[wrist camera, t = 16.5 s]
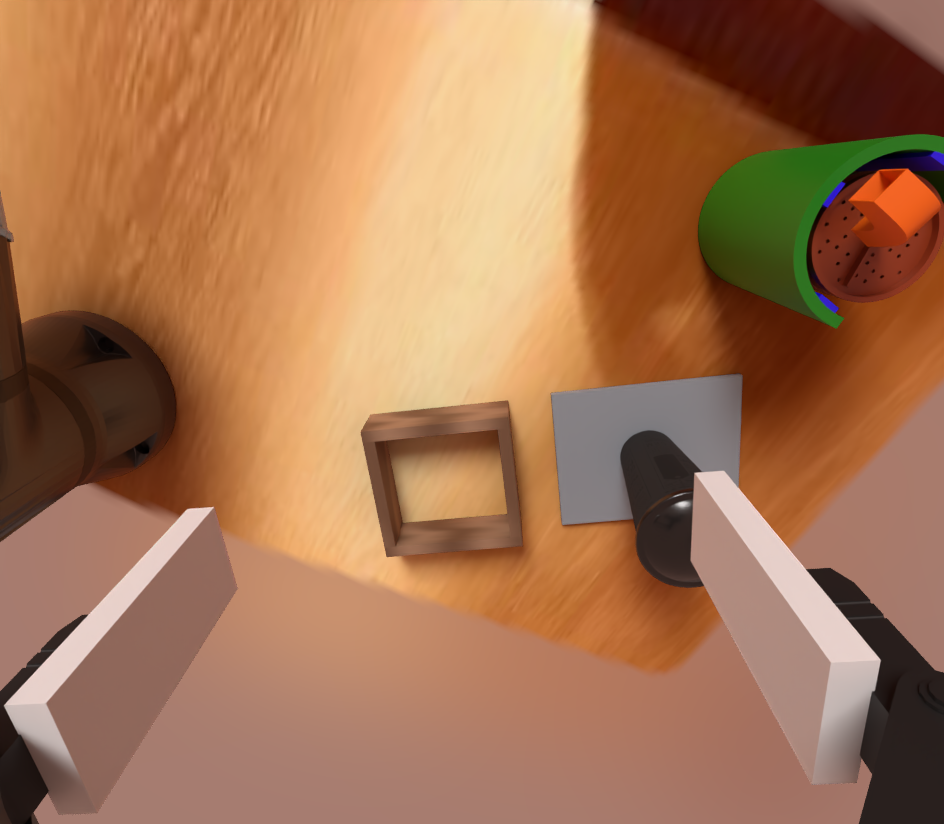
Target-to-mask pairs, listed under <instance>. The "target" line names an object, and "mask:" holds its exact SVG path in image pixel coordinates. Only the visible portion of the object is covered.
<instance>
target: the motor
mask: <svg viewBox="0 0 944 824" xmlns="http://www.w3.org/2000/svg"><path fill="white" fill-rule="evenodd" d="M943 203H944V138H943V137H939V136H934V135H906V136H897V137H888V138H880V139H871V140H862V141H853V142H845V143H836V144H827V145H819V146H810V147H801V148H792V149H784V150H775V151H767V152H762V153H758V154H755V155H752V156H750V157H748V158H745V159H743V160H742V161H740V162H738V163H737V164H735V165H734V166H732V167H731V168H730V169H729V170H727V171H726V172H725V173H724V174H723V175H722V176H721V177H720V178H719V180H718V181H717V182H716V183H715V185H714V186H713V187H712V189H711V190H710V192H709V194H708V196H707V198H706V200H705V202H704V204H703V207H702V210H701V214H700V218H699V225H698V238H699V245H700V249H701V252H702V255H703V257H704V259H705V261H706V263H707V264H708V266H709V267H710V268H711V270H712V271H713V272H714V273H715V274H716V275H717V276H719V277H720V278H721V279H723V280H724V281H726V282H728V283H730V284H732V285H735V286H737V287H740V288H742V289H744V290H747V291H749V292H751V293H754V294H756V295H758V296H761V297H763V298H766V299H768V300H770V301H773V302H775V303H777V304H780V305H782V306H784V307H787V308H789V309H792V310H794V311H796V312H799V313H801V314H803V315H806V316H808V317H810V318H813V319H815V320H818V321H820V322H822V323H825V324H827V325H829V326H832V327H834V328H836V329H837V327H838V326H839V325H840V323H841V322H842V321H843V319H844V318H843V317H841V316H839V315H837V314H835V313H836V311H837V310H838V309H839V308H838V307H837V306H835V305H834V304H833V303H832V302H831V301H829V300H828V299H827V298H826V297H825V296H823V295H822V294H820V293H817V292H814V290H817V291H820V292H823V293H826V294H829V295H833V296H835V297H838V298H841V299H844V300H847V301H852V302H861V303H865V302H875V301H879V300H883V299H886V298H889V297H891V296H894V295H896V294H898V293H900V292H901V291H903V290H905V289H906V288H908V287H909V286H910V285H912V284H913V283H914V282H915V281H917V280H918V279H919V278H920V277H921V276H922V275H923V274H924V272H925V271H926V270H927V269H928V268H929V266H930V265H931V263H932V262H933V260H934V259H935V257H936V255H937V253H938V251H939V249H940V247H941V244H942V241H943V237H944V205H943ZM813 289H814V290H813Z"/></svg>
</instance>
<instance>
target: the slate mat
mask: <svg viewBox="0 0 944 824" xmlns="http://www.w3.org/2000/svg"><path fill="white" fill-rule="evenodd" d="M742 378H743V376H742V375H741V374H730V375H720V376H710V377H701V378H691V379H681V380H672V381H662V382H652V383H643V384H633V385H623V386H613V387H604V388H594V389H584V390H575V391H565V392H555V393H551V400H552V412H553V424H554V436H555V448H556V460H557V472H558V484H559V496H560V508H561V520H562V525H568V524H580V523H592V522H604V521H616V520H628V519H633V515H632V511H631V506H630V502H629V497H628V493H627V488H626V483H625V479H624V474H623V470H622V465H621V460H620V454H621V450H622V447H623V445H624V444H625V442H626V441H627V440H628V439H629V438H630V437H631V436H633V435H634V434H636V433H639V432H642V431H647V430H653V431H658V432H661V433H663V434H665V435H666V436H668V437H669V438H670V439H671V440H672V441H673V442H674V443H675V444H676V445H677V446H678V447H679V448H680V449H681V450H682V451H683V453H684V454H685V455H686V456H687V457H688V458H689V459H690V460H691V461H692V462H693V463H694V464H695V465H696V466H697V467H698V468H699V469H700V470H701V471H702V472H713V471H725V472H726V474H727V475H728V476H729V477H730V479H731V480H732V481H733V482H734V483H735V485H736V486H737V487H738V486H739V459H740V432H741V405H742Z"/></svg>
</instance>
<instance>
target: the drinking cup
mask: <svg viewBox="0 0 944 824" xmlns="http://www.w3.org/2000/svg"><path fill="white" fill-rule="evenodd" d="M620 460H621V465H622V470H623V474H624V479H625V483H626V488H627V493H628V497H629V502H630V506H631V511H632V515H633V520H634V525H635V529H636V536H635V546H636V551H637V555H638V557H639V560H640V562H641V563H642V565H643V567H644V568H645V569H646V570H647V571H648V572H649V573H650V574H651V575H652V576H653V577H655V578H656V579H658V580H660V581H662V582H664V583H666V584H669V585H673V586H677V587H686V588H691V587H701V586H704V584H703V582H702V581H701V579H700V577H699V575H698V573H697V571H696V569H695V568H694V566H693V564H692V562H691V539H692V517H693V495H694V473H699V472H702V471H701V470H700V469H699V468H698V467H697V466H696V465H695V464H694V463H693V462H692V461H691V460H690V459H689V458H688V457H687V456H686V455H685V454H684V453H683V451H682V450H681V449H680V448H679V447H678V446H677V445H676V444H675V443H674V442H673V441H672V440H671V439H670V438H669V437H668V436H666V435H665V434H663V433H661V432H658V431H653V430H647V431H642V432H639V433H636V434H634V435H633V436H631V437H630V438H629V439H628V440H627V441H626V442H625V444H624V445H623V447H622V450H621V454H620Z"/></svg>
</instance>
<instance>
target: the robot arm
mask: <svg viewBox="0 0 944 824" xmlns="http://www.w3.org/2000/svg"><path fill="white" fill-rule="evenodd" d="M10 242H14V239H13V235H12V233H11V232H10V231H9V230H8V228H7V223H6V218H5V213H4V208H3V202H2V197H1V192H0V542H1V541H2V540H4V539H5V538H6V537H8V536H9V535H11V534H12V533H13V532H14V531H16V530H17V529H19V528H20V527H21V526H23V525H24V524H25V523H27V522H28V521H29V520H31V519H32V518H34V517H35V516H37V515H38V514H39V513H40V512H42V511H43V510H45V509H46V508H47V507H49V506H50V505H51V504H53V503H54V502H56V501H57V500H58V499H60V498H61V497H63V496H64V495H65V494H66V493H68V492H69V491H71V490H72V489H74V488H75V487H77V486H80V485H84V484H88V483H93V482H97V481H101V480H105V479H109V478H113V477H117V476H121V475H124V474H126V473H129V472H131V471H133V470H135V469H137V468H138V467H140V466H141V465H143V464H144V463H145V462H147V461H148V460H149V459H150V458H152V457H153V456H154V455H156V454H157V453H158V452H159V451H160V450H161V449H162V448H163V446H164V445H165V444H166V442H167V441H168V439H169V437H170V435H171V432H172V430H173V427H174V422H175V415H176V403H175V396H174V391H173V387H172V384H171V381H170V379H169V376H168V374H167V372H166V370H165V368H164V366H163V365H162V363H161V361H160V360H159V359H158V357H157V356H156V354H155V353H154V352H153V351H152V350H151V348H150V347H149V346H148V345H147V344H146V343H145V342H144V341H143V340H142V339H141V338H139V337H138V336H137V335H136V334H135V333H133V332H132V331H131V330H129V329H128V328H126V327H124V326H123V325H121V324H119V323H117V322H115V321H113V320H111V319H109V318H106V317H104V316H101V315H98V314H94V313H89V312H83V311H61V312H55V313H52V314H48V315H44V316H41V317H37V318H34V319H31V320H29V321H26V322H24V323H22V324H21V318H20V311H19V304H18V297H17V291H16V284H15V277H14V270H13V263H12V256H11V249H10ZM691 562H692V564H693V566H694V568H695V569H696V571H697V573H698V575H699V577H700V579H701V581H702V582H703V584H704V586H705V588H706V590H707V592H708V594H709V595H710V597H711V599H712V601H713V603H714V605H715V606H716V608H717V610H718V612H719V614H720V616H721V618H722V619H723V621H724V623H725V625H726V627H727V629H728V631H729V632H730V634H731V636H732V638H733V640H734V642H735V644H736V645H737V647H738V649H739V651H740V653H741V654H742V657H743V658H744V660H745V662H746V664H747V666H748V668H749V669H750V671H751V673H752V675H753V677H754V679H755V681H756V682H757V684H758V686H759V688H760V690H761V692H762V694H763V695H764V697H765V699H766V701H767V703H768V705H769V707H770V708H771V710H772V712H773V714H774V716H775V718H776V719H777V721H778V723H779V725H780V727H781V729H782V731H783V732H784V734H785V736H786V738H787V740H788V741H789V744H790V745H791V747H792V749H793V751H794V753H795V755H796V757H797V758H798V760H799V762H800V764H801V766H802V768H803V770H804V771H805V773H806V775H807V777H808V778H809V780H810V782H811V784H812V785H813V784H814V785H815V784H840V783H857V778H858V773H859V768H860V763H861V758H862V759H863V761H864V762H865V764H866V765H867V767H868V768H869V770H870V772H871V773H872V778H871V781H870V785H869V789H868V792H867V796H866V800H865V803H864V807H863V810H862V814H861V818H860V822H859V824H944V673H943V672H939V671H936V670H934V669H933V668H932V667H931V666H930V664H928V662H927V661H926V660H925V659H924V658H923V657H922V656H921V655H920V654H919V653H918V651H917V650H916V649H915V648H914V647H913V646H912V645H911V644H910V643H909V642H908V641H907V640H906V638H905V637H904V636H903V635H902V634H901V633H900V632H899V631H898V630H897V629H896V628H895V626H893V624H892V623H891V622H890V621H889V620H888V619H887V618H884V616H883V614H882V612H881V611H880V610H879V609H878V608H877V607H876V606H875V605H874V604H871V603H870V599H868V597H867V596H866V595H865V594H864V593H863V592H862V591H861V590H860V589H859V587H858V586H857V585H856V584H855V583H854V582H852V581H851V580H849V579H847V578H846V577H844V576H842V575H841V574H839V573H838V572H836V571H834V570H833V569H831V568H821V569H805V568H804V567H803V566H802V564H801V563H800V562H799V561H798V560H797V558H796V557H795V556H794V555H793V554H792V552H791V551H790V550H789V549H788V547H787V546H786V545H785V544H784V543H783V541H782V540H781V539H780V538H779V537H778V535H777V534H776V533H775V532H774V530H773V529H772V528H771V527H770V526H769V524H768V523H767V522H766V521H765V520H764V518H763V517H762V516H761V515H760V514H759V512H758V511H757V510H756V509H755V508H754V506H753V505H752V504H751V503H750V501H749V500H748V499H747V498H746V497H745V495H744V494H743V493H742V492H741V491H740V489H739V488H738V487H737V486H736V485H735V483H734V482H733V481H732V480H731V479H730V477H729V476H728V475H727V474H726V472H725V471H713V472H699V473H694V495H693V517H692V539H691ZM236 590H237V585H236V582H235V578H234V574H233V571H232V567H231V564H230V560H229V557H228V554H227V550H226V546H225V543H224V539H223V536H222V532H221V529H220V525H219V522H218V518H217V515H216V511H215V508H214V507H207V508H193V509H187V510H186V511H185V512H184V513H183V514H182V515H181V516H180V517H179V519H178V520H177V521H176V522H175V523H174V524H173V525H172V526H171V527H170V528H169V530H167V531H166V533H165V534H164V535H163V536H162V537H161V538H160V539H159V540H158V541H157V542H156V543H155V544H154V545H153V546H152V548H151V549H150V550H149V551H148V552H147V553H146V554H145V555H144V556H143V557H142V558H141V559H140V560H139V561H138V562H137V564H136V565H135V566H134V567H133V568H132V569H131V570H130V571H129V572H128V573H127V574H126V575H125V576H124V577H123V579H122V580H121V581H120V582H119V583H118V584H117V585H116V586H115V587H114V588H113V589H112V590H111V591H110V592H109V594H108V595H107V596H106V597H105V598H104V599H103V600H102V601H101V602H100V603H99V604H98V605H97V606H96V608H95V609H94V610H93V611H92V612H91V613H90V614H89V615H82V616H80V617H78V618H77V619H76V620H74V621H73V622H71V623H70V624H68V625H67V626H65V627H64V628H62V629H61V630H60V631H58V632H57V633H56V634H55V635H54V636H53V637H52V638H51V640H50V641H49V642H48V643H47V644H46V645H45V646H44V647H43V648H42V649H41V652H40V653H37V654H36V655H35V656H34V657H33V658H32V659H31V660H30V661H29V662H28V663H27V666H26V668H22V669H21V670H20V672H19V673H18V674H17V675H16V676H15V677H14V678H13V679H12V680H11V681H10V682H9V683H8V684H7V685H6V686H5V687H4V688H3V689H2V690H1V691H0V824H39V823H38V821H37V819H36V817H35V815H34V813H33V812H34V811H35V809H36V808H37V807H38V805H39V804H40V802H41V801H42V800H43V798H44V797H45V796H46V794H47V793H48V794H49V796H50V798H51V800H52V802H53V804H54V806H55V808H56V810H57V812H58V814H59V815H63V814H89V813H98V811H99V809H100V808H101V806H102V805H103V803H104V802H105V800H106V798H107V797H108V795H109V794H110V792H111V790H112V789H113V787H114V786H115V784H116V782H117V781H118V779H119V778H120V776H121V774H122V773H123V771H124V769H125V768H126V766H127V765H128V763H129V762H130V760H131V758H132V757H133V755H134V754H135V752H136V750H137V749H138V747H139V746H140V744H141V742H142V741H143V739H144V737H145V736H146V734H147V733H148V731H149V730H150V728H151V726H152V725H153V723H154V722H155V720H156V718H157V717H158V715H159V714H160V712H161V710H162V708H163V707H164V706H165V704H166V702H167V701H168V699H169V697H170V696H171V694H172V692H173V691H174V690H175V688H176V686H177V685H178V683H179V682H180V680H181V678H182V677H183V675H184V673H185V672H186V670H187V669H188V667H189V665H190V664H191V662H192V661H193V659H194V658H195V656H196V654H197V653H198V651H199V649H200V648H201V646H202V645H203V643H204V642H205V640H206V638H207V637H208V635H209V634H210V632H211V630H212V629H213V627H214V626H215V624H216V622H217V621H218V619H219V618H220V616H221V614H222V613H223V611H224V610H225V608H226V606H227V605H228V603H229V602H230V600H231V598H232V597H233V595H234V594H235V592H236Z"/></svg>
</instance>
